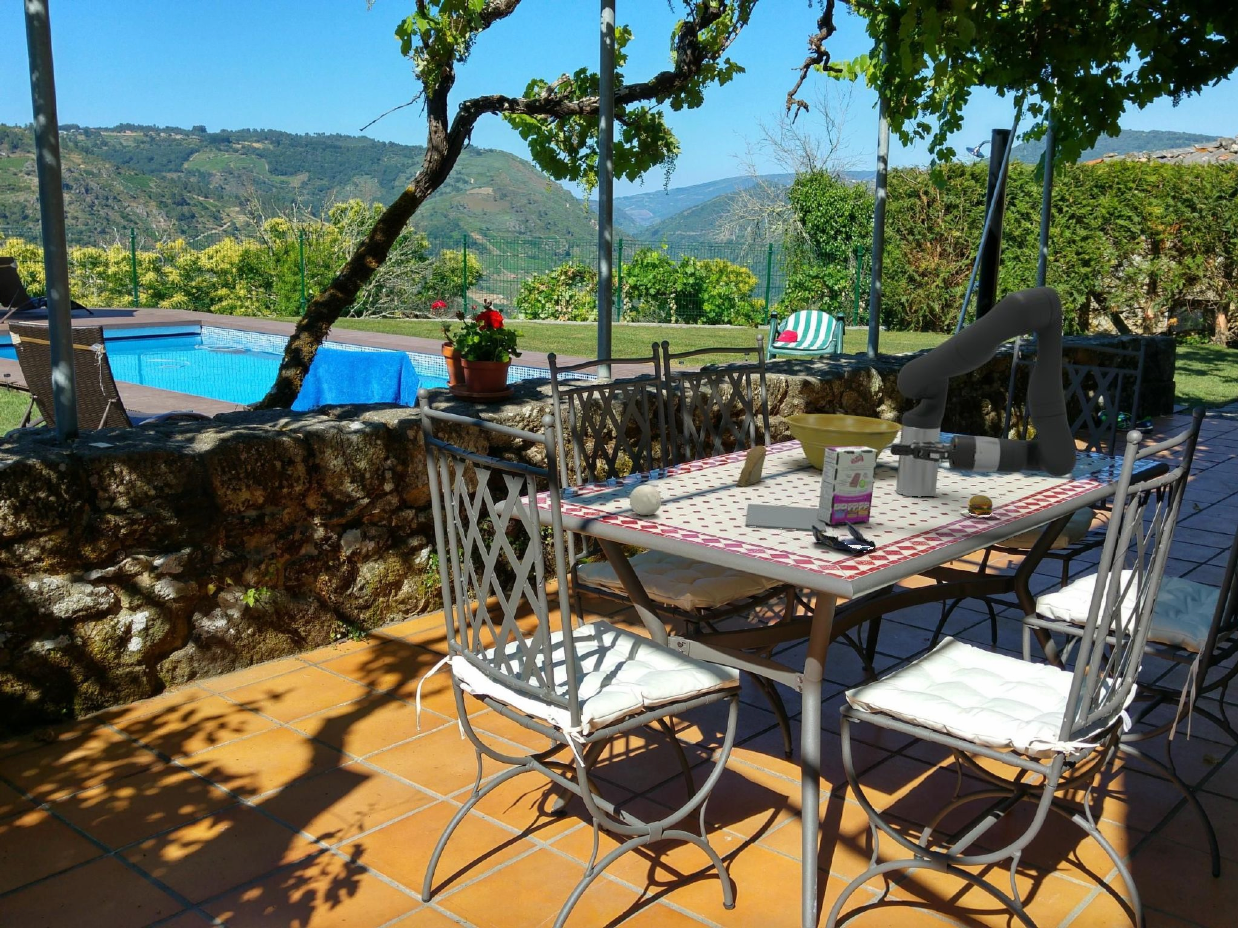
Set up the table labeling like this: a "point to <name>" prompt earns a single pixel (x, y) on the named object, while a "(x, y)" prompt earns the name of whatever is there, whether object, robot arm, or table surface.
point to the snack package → (840, 543)
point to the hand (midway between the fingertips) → (891, 449)
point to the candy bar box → (847, 484)
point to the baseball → (645, 500)
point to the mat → (783, 517)
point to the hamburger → (980, 505)
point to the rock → (752, 466)
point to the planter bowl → (839, 433)
